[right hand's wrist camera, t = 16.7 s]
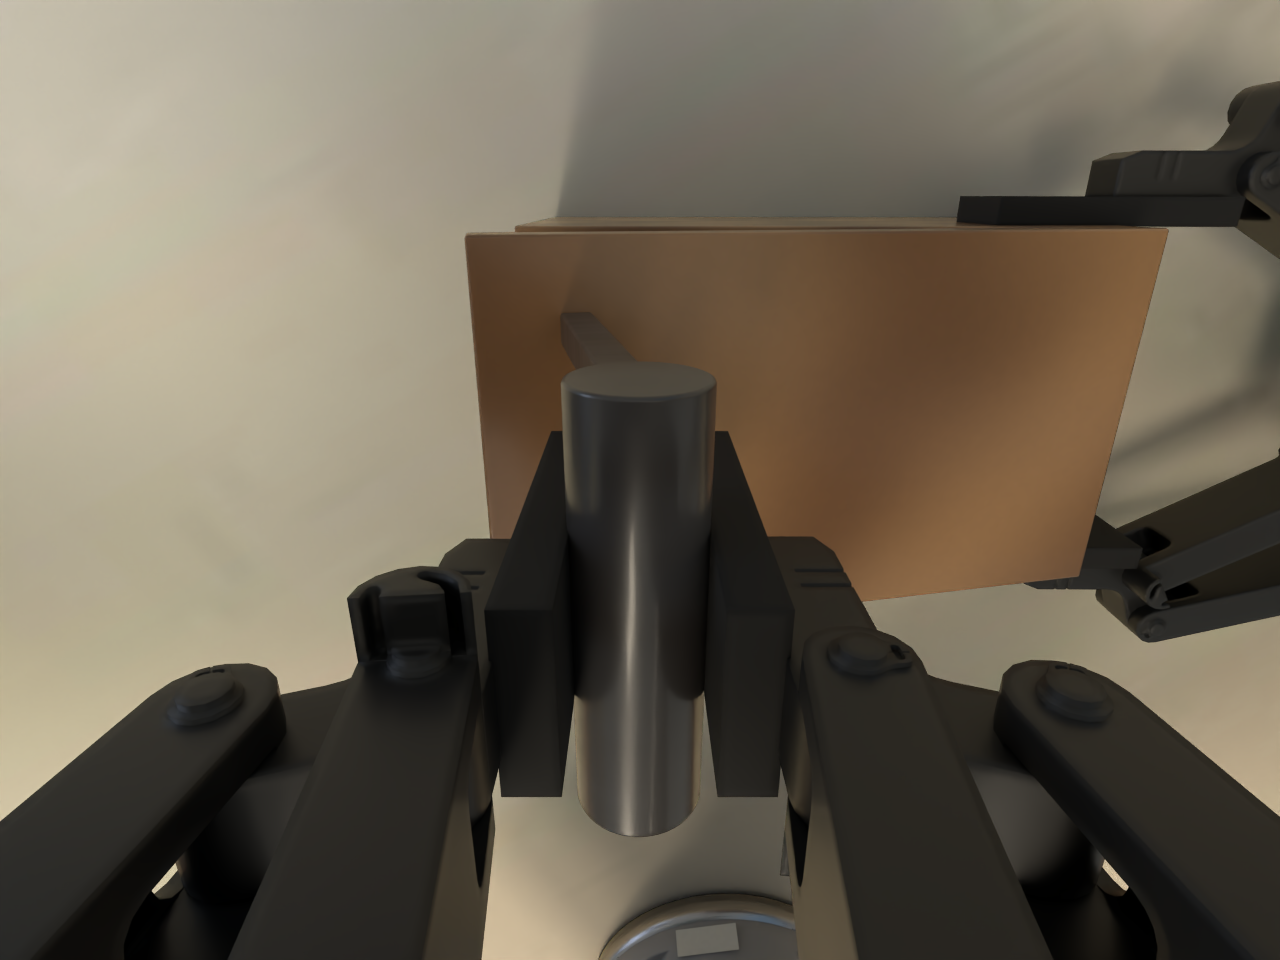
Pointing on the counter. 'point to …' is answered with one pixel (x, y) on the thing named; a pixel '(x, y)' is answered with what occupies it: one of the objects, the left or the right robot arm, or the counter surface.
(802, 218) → the chest
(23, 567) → the counter surface
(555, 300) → the lid
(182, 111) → the counter surface
